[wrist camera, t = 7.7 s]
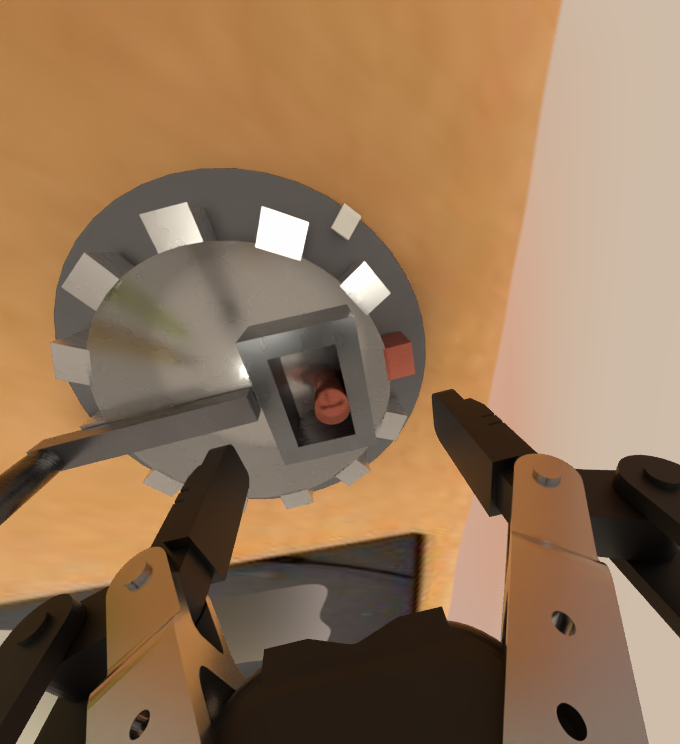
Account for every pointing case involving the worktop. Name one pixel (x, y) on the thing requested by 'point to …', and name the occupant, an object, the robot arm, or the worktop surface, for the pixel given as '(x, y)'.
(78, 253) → the sprocket base
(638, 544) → the robot arm
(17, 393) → the worktop surface
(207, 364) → the sprocket
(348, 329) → the chain link
